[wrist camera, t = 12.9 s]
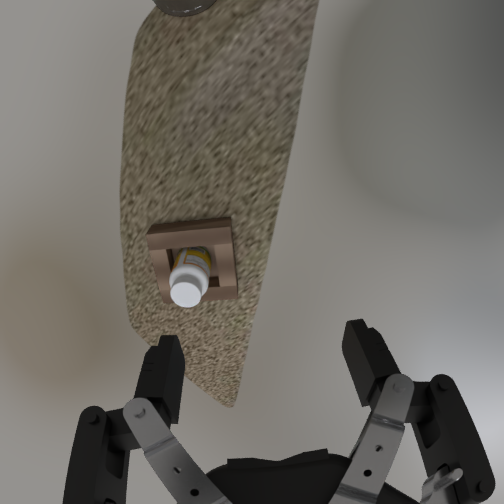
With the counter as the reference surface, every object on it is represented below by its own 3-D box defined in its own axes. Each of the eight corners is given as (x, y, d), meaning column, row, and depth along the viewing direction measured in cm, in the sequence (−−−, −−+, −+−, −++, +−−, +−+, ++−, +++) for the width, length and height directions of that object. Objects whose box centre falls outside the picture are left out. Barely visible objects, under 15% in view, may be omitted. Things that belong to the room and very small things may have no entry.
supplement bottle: (187, 277, 45) (177, 316, 37) (171, 249, 43) (157, 285, 34) (217, 266, 44) (213, 305, 36) (202, 237, 42) (194, 271, 33)
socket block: (152, 225, 41) (145, 234, 38) (230, 217, 41) (230, 226, 38) (167, 290, 47) (163, 303, 44) (237, 285, 47) (238, 298, 44)
